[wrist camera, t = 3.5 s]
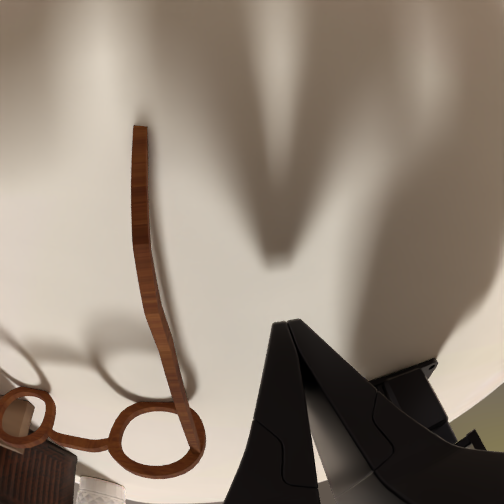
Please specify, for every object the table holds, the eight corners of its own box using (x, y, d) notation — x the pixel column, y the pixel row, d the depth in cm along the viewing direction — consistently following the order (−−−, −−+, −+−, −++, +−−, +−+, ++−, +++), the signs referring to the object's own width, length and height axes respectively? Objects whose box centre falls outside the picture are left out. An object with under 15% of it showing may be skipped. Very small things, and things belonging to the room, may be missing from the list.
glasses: (14, 380, 12) (-5, 442, 8) (-82, 194, 5) (-144, 250, 1) (205, 397, 14) (210, 484, 9) (160, 118, 7) (80, 165, 2)
